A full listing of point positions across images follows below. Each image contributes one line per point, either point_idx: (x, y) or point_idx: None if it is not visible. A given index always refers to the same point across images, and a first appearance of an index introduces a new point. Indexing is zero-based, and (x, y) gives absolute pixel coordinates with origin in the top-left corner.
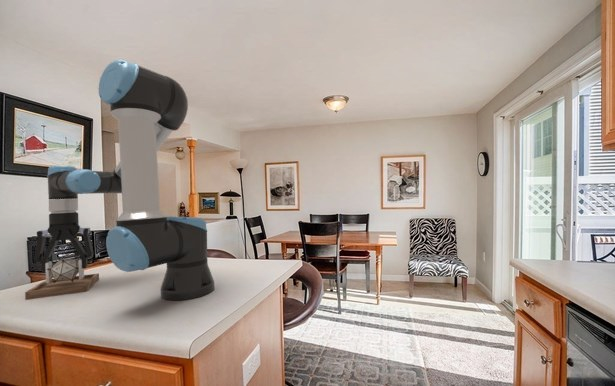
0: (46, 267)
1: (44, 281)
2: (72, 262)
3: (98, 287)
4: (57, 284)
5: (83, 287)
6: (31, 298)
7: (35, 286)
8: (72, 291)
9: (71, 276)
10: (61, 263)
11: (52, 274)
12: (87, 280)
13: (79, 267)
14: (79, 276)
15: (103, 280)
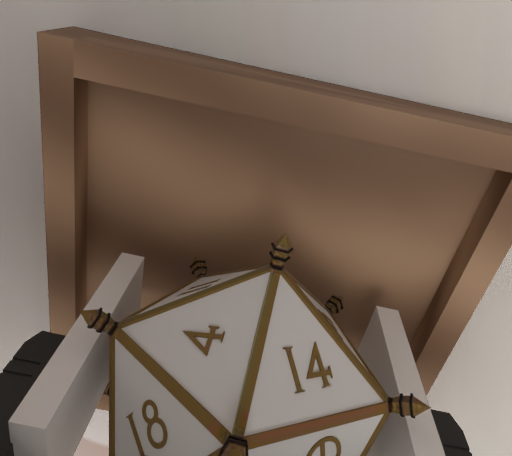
0: (433, 449)
1: None
2: (141, 433)
3: (5, 110)
4: None
5: (77, 35)
6: (488, 118)
7: (467, 312)
8: (181, 54)
9: (192, 284)
10: (262, 421)
11: (358, 353)
12: None
13: (86, 340)
14: (128, 271)
15: (35, 314)
